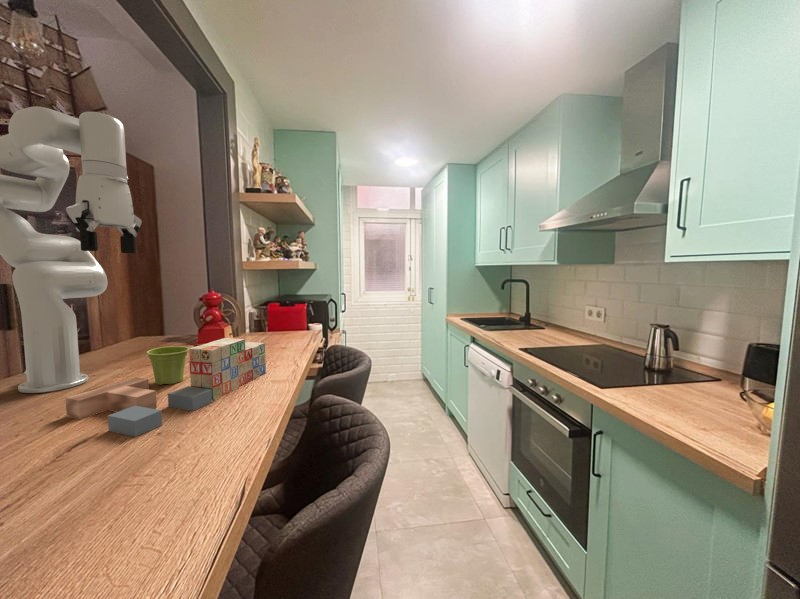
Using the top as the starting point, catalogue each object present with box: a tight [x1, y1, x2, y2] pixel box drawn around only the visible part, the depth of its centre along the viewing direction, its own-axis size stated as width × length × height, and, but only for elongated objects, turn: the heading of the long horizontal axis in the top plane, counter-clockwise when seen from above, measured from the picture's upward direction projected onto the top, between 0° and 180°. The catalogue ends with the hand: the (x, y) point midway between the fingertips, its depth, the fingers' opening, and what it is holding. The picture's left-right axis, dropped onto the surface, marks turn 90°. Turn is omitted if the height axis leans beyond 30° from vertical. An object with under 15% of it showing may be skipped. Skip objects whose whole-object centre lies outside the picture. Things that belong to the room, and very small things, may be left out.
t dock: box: [107, 385, 213, 438], centre depth 71 cm, size 7×17×3 cm, turn 163°
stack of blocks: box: [188, 337, 267, 401], centre depth 90 cm, size 21×6×12 cm, turn 169°
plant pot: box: [146, 345, 190, 385], centre depth 91 cm, size 9×9×9 cm
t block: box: [65, 377, 158, 420], centre depth 74 cm, size 13×14×4 cm
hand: (110, 252), depth 77 cm, fingers open, 9 cm apart
